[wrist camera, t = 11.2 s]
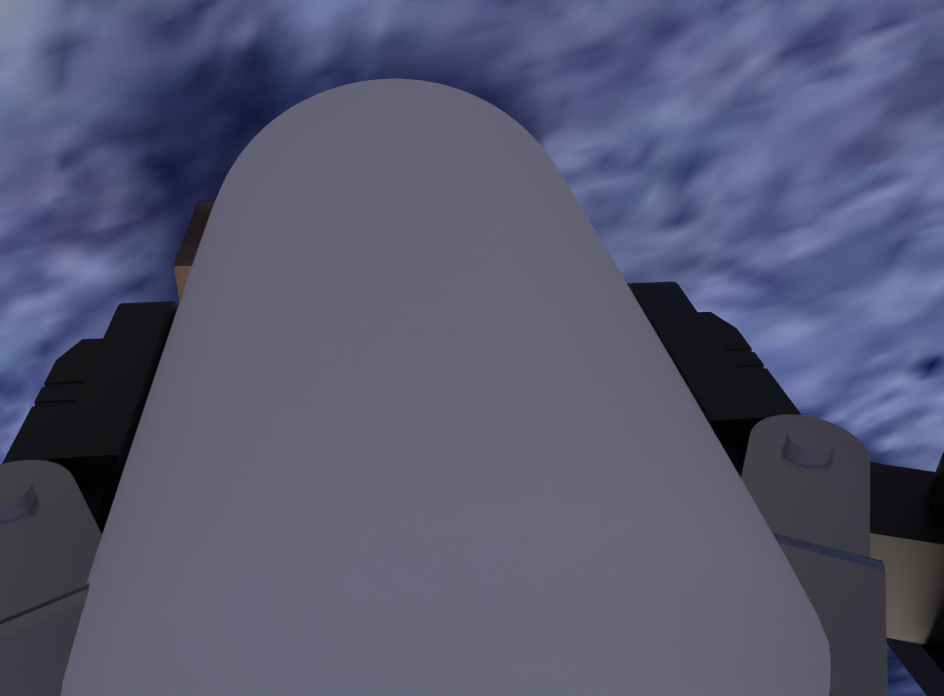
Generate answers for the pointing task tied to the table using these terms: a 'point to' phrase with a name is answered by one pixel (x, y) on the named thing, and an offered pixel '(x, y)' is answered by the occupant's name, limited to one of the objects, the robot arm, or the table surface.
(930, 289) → the table surface
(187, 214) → the table surface
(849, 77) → the table surface
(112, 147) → the table surface
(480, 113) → the can
